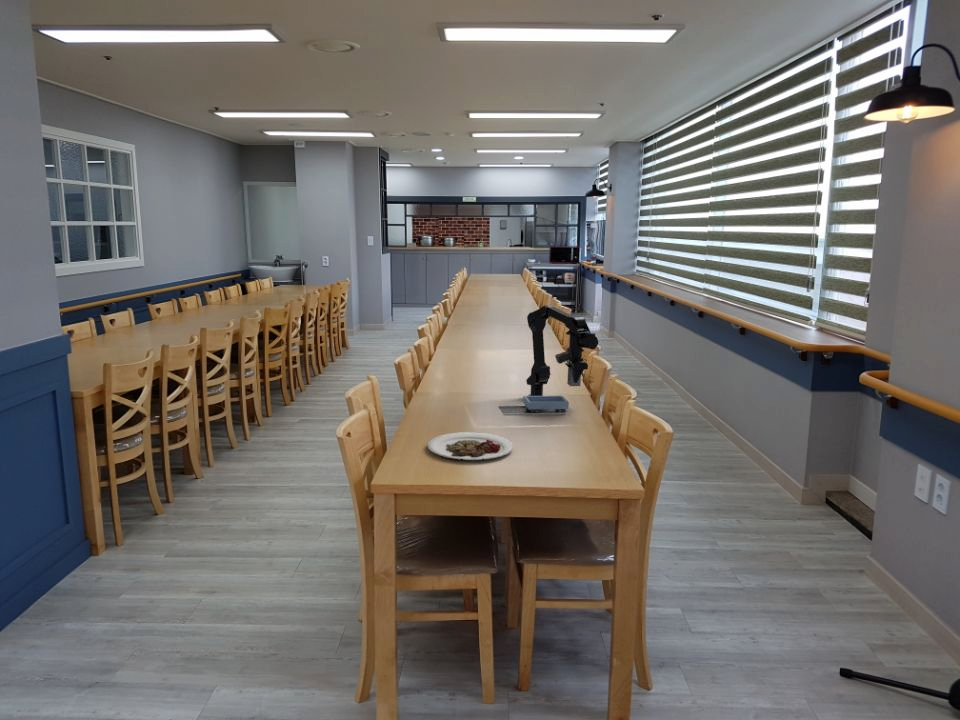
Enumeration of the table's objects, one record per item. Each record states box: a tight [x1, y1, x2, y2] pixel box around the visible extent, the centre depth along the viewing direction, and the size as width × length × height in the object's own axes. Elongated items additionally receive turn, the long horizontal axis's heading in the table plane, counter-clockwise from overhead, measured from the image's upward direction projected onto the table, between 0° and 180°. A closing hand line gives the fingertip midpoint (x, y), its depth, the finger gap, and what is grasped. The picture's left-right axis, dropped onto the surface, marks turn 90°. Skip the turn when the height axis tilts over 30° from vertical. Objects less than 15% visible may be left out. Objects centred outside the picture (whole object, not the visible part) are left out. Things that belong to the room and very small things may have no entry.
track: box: [498, 404, 569, 416], centre depth 292 cm, size 13×27×1 cm, turn 98°
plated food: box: [427, 431, 514, 461], centre depth 242 cm, size 30×30×3 cm
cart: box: [522, 395, 570, 413], centre depth 293 cm, size 11×17×5 cm, turn 98°
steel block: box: [566, 367, 582, 387], centre depth 298 cm, size 4×4×7 cm
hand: (573, 381), depth 299 cm, fingers closed on steel block, 4 cm apart
